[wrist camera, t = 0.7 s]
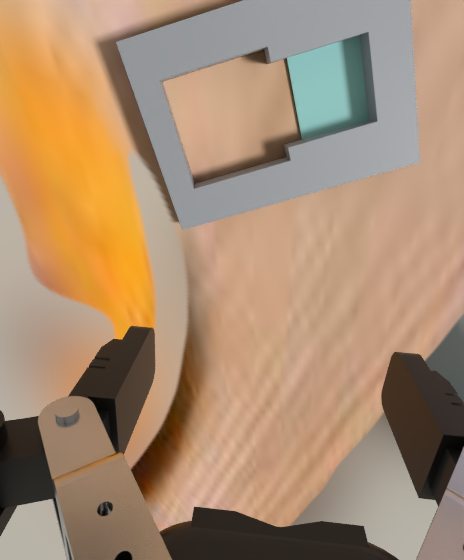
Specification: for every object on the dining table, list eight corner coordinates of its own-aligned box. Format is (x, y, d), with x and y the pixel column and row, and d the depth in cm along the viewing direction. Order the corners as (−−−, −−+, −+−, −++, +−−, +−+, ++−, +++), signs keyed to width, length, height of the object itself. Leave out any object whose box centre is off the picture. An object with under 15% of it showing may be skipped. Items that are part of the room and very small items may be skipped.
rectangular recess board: (183, 222, 34) (182, 230, 32) (121, 45, 28) (115, 41, 26) (408, 158, 33) (419, 162, 31) (394, -44, 27) (407, -54, 25)
